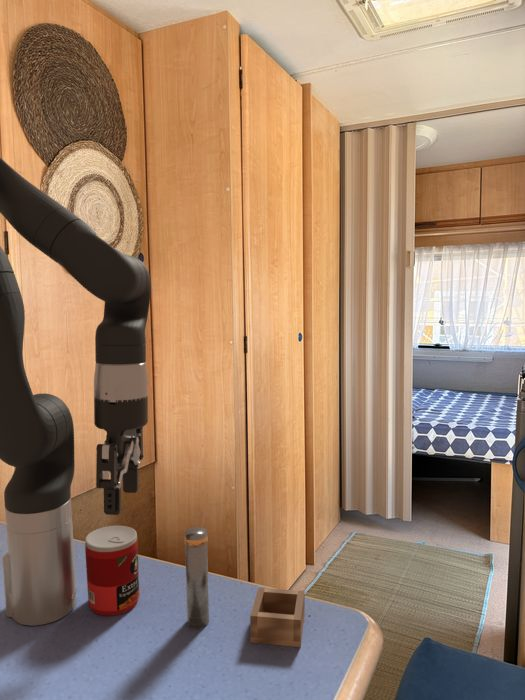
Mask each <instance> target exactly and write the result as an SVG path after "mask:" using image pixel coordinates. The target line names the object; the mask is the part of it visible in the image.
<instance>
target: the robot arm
mask: <svg viewBox="0 0 525 700" xmlns="http://www.w3.org/2000/svg"><path fill="white" fill-rule="evenodd" d="M0 214H1V215H2V216H3V217H4V218H5V219H6V221H7V222H8V223H9V224H10V226H11V227H12V228H13V229H14V230H15V231H16V232H17V233H18V234H19V235H20V236H21V237H22V238H23V239H25V241H27V242H28V243H30V245H32V246H33V247H35V248H36V249H38V250H39V251H40V252H41V253H43V254H44V255H46V256H47V257H48V258H50V259H51V260H52V261H54V262H55V263H56V264H59V265H60V266H61V267H63V268H64V269H65V271H67V273H68V274H69V275H70V276H71V277H72V278H73V279H74V280H76V282H77V283H79V284H80V285H81V286H82V287H83V288H84V289H85V290H86V291H88V292H89V293H90V294H92V295H93V296H94V297H96V299H97V298H98V299H99V300H102V301H103V302H104V308H103V318H102V321H101V322H100V323H99V324H98V326H97V327H96V330H95V337H94V340H95V341H94V343H95V344H94V346H95V349H94V350H95V351H94V353H95V359H94V360H95V365H94V366H95V367H94V375H93V409H94V410H93V411H94V412H93V413H94V414H93V420H94V421H93V422H94V427H96V428H97V429H99V430H104V431H105V432H106V436H105V441H104V442H103V443H98V444H97V445H96V449H95V450H96V459H95V460H96V461H95V463H96V465H95V466H96V467H95V471H96V472H95V474H96V478H95V479H96V481H95V486H96V489H103V512H104V514H105V515H109V516H117V515H119V514H120V513H121V512H122V490H123V492H124V493H127V494H131V493H132V494H135V493H137V492H138V491H139V468H140V466H141V461H143V458H144V436H143V435H144V433H143V432H144V427H145V426H146V425H147V424H148V421H149V410H148V409H149V403H148V402H149V393H148V391H149V390H148V388H149V385H148V384H149V383H148V382H149V381H148V379H149V378H148V371H147V362H146V361H147V350H146V349H147V345H146V343H147V340H146V326H147V322H148V318H149V317H148V316H149V309H150V303H151V293H152V292H151V291H152V290H151V289H152V287H151V286H152V284H151V283H152V282H151V277H150V272H149V270H148V268H147V266H146V265H145V263H144V262H143V261H142V260H141V259H139V258H137V257H136V256H133V255H129V254H127V253H126V254H125V253H123V252H121V251H120V250H118V249H116V248H115V247H113V246H112V245H111V244H110V243H108V242H106V241H105V240H104V239H102V238H101V237H99V236H98V235H97V232H96V231H95V230H94V229H93V227H91V226H90V225H89V224H88V223H87V222H86V221H84V220H83V219H81V218H80V217H79V216H77V215H76V214H74V213H73V212H72V211H71V210H69V209H68V208H66V207H65V206H63V205H62V204H61V203H60V202H58V201H56V200H55V199H54V198H52V197H51V196H50V195H48V194H47V193H45V192H44V191H42V190H41V189H39V188H38V187H37V186H35V185H34V184H32V183H31V182H30V181H28V180H27V179H26V178H24V177H23V176H22V175H21V174H20V173H18V172H17V171H16V170H15V169H14V168H13V167H11V166H10V165H9V164H8V163H7V162H6V161H5V160H4V159H3V158H2V157H1V156H0ZM10 261H11V260H9V258H8V256H7V253H5V251H4V249H3V248H2V246H1V245H0V460H1V461H2V462H3V463H5V465H6V464H7V465H8V466H11V467H14V471H13V474H12V476H11V478H10V480H9V481H8V483H7V484H6V487H5V489H4V492H3V497H4V498H3V499H4V500H3V501H4V511H5V525H6V526H5V527H6V538H7V539H6V540H7V552H6V553H5V554H4V555H3V557H2V558H1V559H2V573H3V587H4V598H5V599H4V600H5V602H4V603H5V613H6V614H5V615H6V617H7V618H8V617H9V618H12V619H13V620H14V621H15V622H16V623H18V624H19V625H20V624H21V625H24V626H41V625H46V624H50V623H53V622H55V621H58V620H60V619H62V618H64V617H66V616H67V615H69V614H70V612H71V611H73V610H74V608H75V607H76V605H77V588H76V569H75V568H76V566H75V548H74V547H75V545H74V527H73V515H72V514H73V509H72V496H71V495H72V494H71V491H72V490H71V489H72V483H73V479H74V476H75V466H76V465H75V462H76V461H75V427H74V421H73V416H72V413H71V411H70V409H69V407H68V405H67V404H66V403H65V402H64V401H63V400H62V398H60V397H58V396H56V395H54V394H52V393H51V394H50V393H45V392H43V393H36V394H33V391H32V388H31V385H30V382H29V379H28V377H27V376H28V375H27V373H26V369H25V363H24V338H25V335H24V334H25V324H26V323H25V321H26V320H25V318H26V315H25V304H24V301H23V300H24V299H23V295H22V292H21V289H20V286H19V283H18V280H17V278H16V275H15V271H14V269H13V267H12V264H11V262H10ZM109 476H110V478H109Z"/></svg>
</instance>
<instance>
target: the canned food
mask: <svg viewBox="0 0 525 700" xmlns="http://www.w3.org/2000/svg"><path fill="white" fill-rule="evenodd" d="M84 540H85V541H84V542H85V543H84V549H85V550H84V551H85V552H84V553H85V564H86V565H85V567H86V571H85V572H86V582H87V583H86V586H87V601H88V605H89V607H90V609H91V611H92V612H94V613H95V614H98V615H101V616H110V617H111V616H118V615H121V614H125V613H126V612H128V611H130V610H132V609H133V608H134V607H135V606H136V605H137V604H138V601H139V599H140V573H139V545H138V544H139V543H138V542H139V541H138V534H137V531H136V530H135V529H134V528H133V527H129V526H126V525H108V526H103V527H100V528H97V529H95V530H93V531H91V532H89V533H88V534H87V535H86V537H85V539H84ZM124 612H125V613H124Z"/></svg>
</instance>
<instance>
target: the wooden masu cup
mask: <svg viewBox="0 0 525 700" xmlns="http://www.w3.org/2000/svg"><path fill="white" fill-rule="evenodd" d="M305 592H306V591H305V590H293V589H283V588H282V589H281V588H268V587H257V591H256V595H255V598H254V601H253V604H252V608H251V613H250V615H249V616H250V617H249V619H250V621H249V622H250V624H249V625H250V630H249V631H250V643H253V644H263V645H274V646H283V647H284V646H285V647H294V648H302V642H303V641H302V640H303V632H304V623H305V616H306V615H305V614H306V613H305V612H306V611H305V609H306V608H305V607H306V606H305V602H306V601H305V600H306V599H305Z"/></svg>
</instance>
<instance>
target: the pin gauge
mask: <svg viewBox="0 0 525 700" xmlns="http://www.w3.org/2000/svg"><path fill="white" fill-rule="evenodd" d="M208 539H209V538H208V529H206V528H205V527H202V526H193V527H189V528H187V529H186V530H185V531H184V544H185V545H184V546H185V547H184V548H185V551H184V554H185V584H186V585H185V586H186V589H185V590H186V618H187V621H186V622H187V623H186V624H187V625H188V627H189V628H191V629H203V628H205V627H207V626H208V625H209V622H210V607H209V606H210V605H209V601H210V600H209V598H210V597H209V562H208V561H209V560H208V559H209V557H208V554H209V553H208V541H209V540H208Z"/></svg>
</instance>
